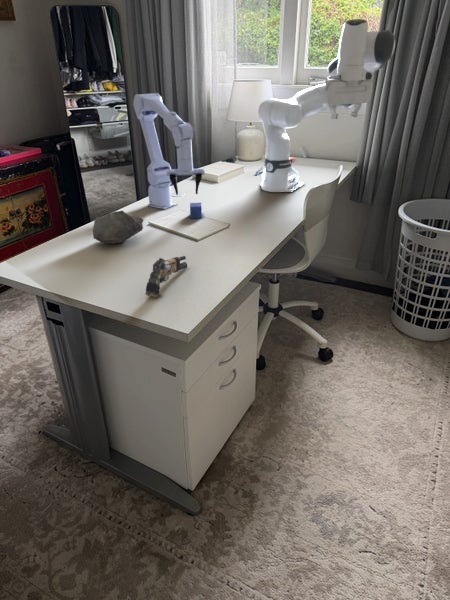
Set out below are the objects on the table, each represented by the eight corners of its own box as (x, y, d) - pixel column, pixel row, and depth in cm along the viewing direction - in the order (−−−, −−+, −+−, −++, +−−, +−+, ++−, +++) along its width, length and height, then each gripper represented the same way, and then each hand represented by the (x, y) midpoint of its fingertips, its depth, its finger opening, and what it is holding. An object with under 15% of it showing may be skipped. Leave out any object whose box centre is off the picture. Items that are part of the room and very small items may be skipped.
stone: (131, 200, 152) (144, 211, 140) (139, 226, 157) (152, 240, 146) (83, 215, 146) (92, 228, 134) (93, 242, 152) (103, 257, 140)
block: (190, 218, 169) (190, 206, 166) (191, 214, 173) (190, 202, 171) (201, 218, 169) (201, 206, 166) (201, 214, 173) (201, 202, 171)
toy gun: (142, 297, 112) (143, 260, 110) (178, 282, 131) (180, 250, 128) (153, 299, 111) (154, 262, 108) (188, 284, 130) (190, 252, 127)
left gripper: (164, 160, 155) (167, 197, 162) (204, 159, 156) (205, 196, 163) (166, 156, 161) (168, 192, 168) (203, 155, 162) (205, 191, 169)
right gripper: (332, 76, 140) (327, 121, 147) (377, 74, 148) (371, 116, 155) (320, 75, 145) (316, 119, 152) (364, 73, 153) (358, 114, 160)
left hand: (186, 193), depth 166 cm, fingers open, 7 cm apart
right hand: (344, 117), depth 154 cm, fingers open, 8 cm apart
